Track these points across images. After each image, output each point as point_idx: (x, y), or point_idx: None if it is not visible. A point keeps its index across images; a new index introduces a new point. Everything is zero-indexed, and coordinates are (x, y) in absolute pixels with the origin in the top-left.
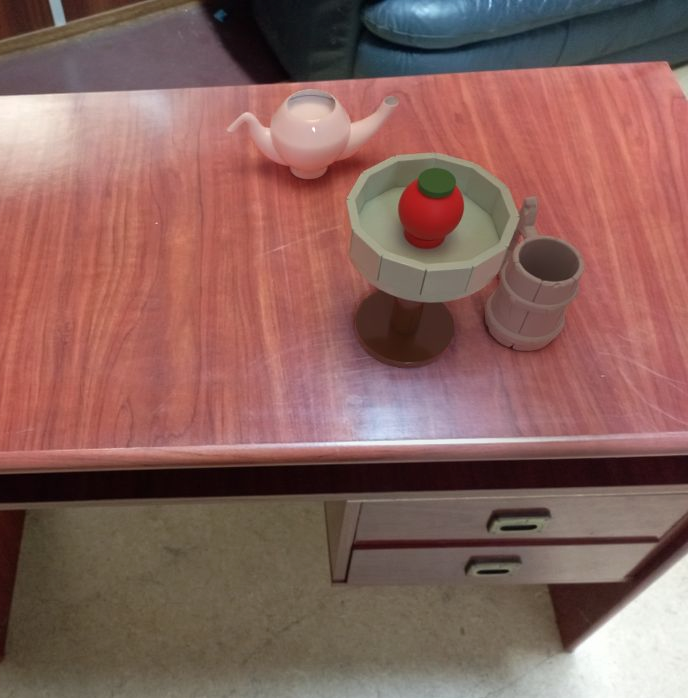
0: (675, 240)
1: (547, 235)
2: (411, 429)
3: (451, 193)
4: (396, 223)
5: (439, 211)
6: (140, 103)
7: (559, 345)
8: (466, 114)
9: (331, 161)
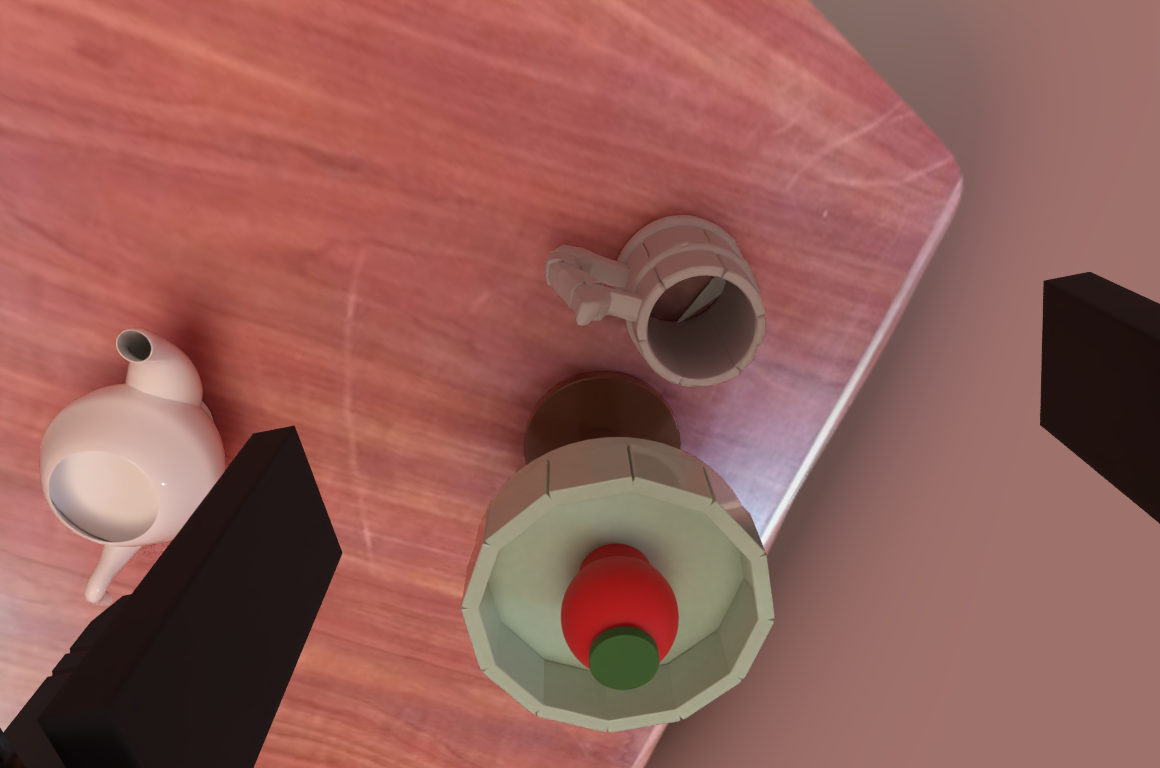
0: None
1: (650, 295)
2: (760, 508)
3: (650, 634)
4: None
5: (666, 651)
6: None
7: (743, 240)
8: (85, 26)
9: (220, 437)
